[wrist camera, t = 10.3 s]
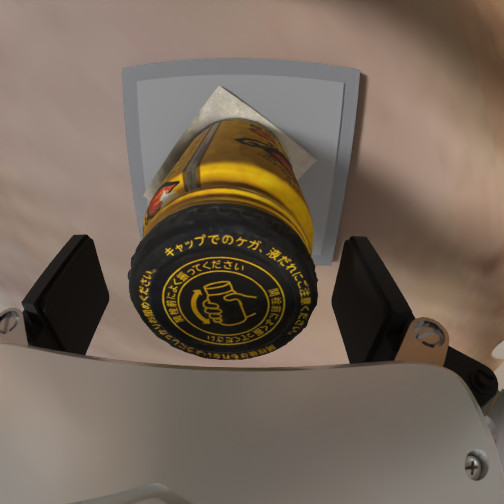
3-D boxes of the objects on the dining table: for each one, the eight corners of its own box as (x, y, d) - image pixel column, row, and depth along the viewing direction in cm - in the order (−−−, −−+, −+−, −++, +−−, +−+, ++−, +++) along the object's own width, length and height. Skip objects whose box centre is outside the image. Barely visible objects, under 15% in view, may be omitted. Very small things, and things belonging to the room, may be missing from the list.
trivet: (328, 259, 23) (331, 266, 22) (148, 255, 22) (144, 262, 22) (355, 69, 15) (360, 70, 14) (127, 67, 15) (121, 68, 14)
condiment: (316, 159, 17) (398, 291, 7) (233, 250, 21) (221, 411, 11) (219, 85, 15) (155, 109, 5) (144, 193, 18) (54, 334, 9)
